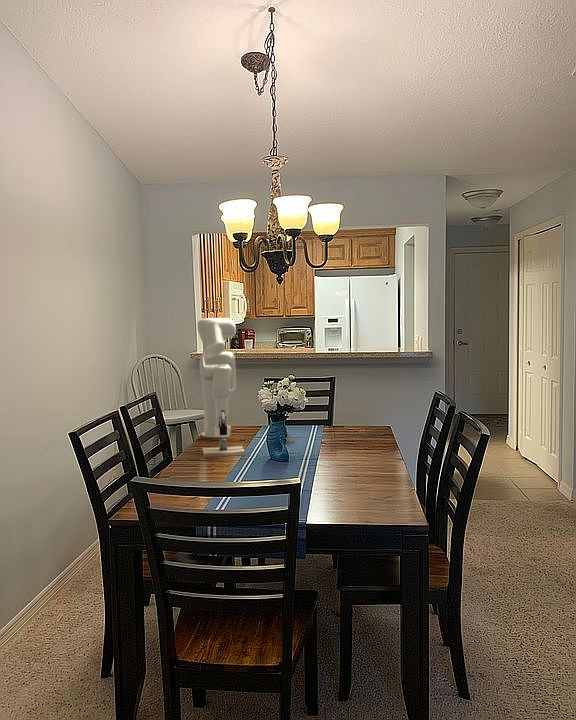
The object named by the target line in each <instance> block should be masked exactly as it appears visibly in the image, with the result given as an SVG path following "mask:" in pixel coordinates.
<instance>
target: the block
mask: <svg viewBox="0 0 576 720" xmlns="http://www.w3.org/2000/svg"><path fill="white" fill-rule="evenodd" d="M202 454H203V455H202V456H203V458H210V457H211V458H212V457H213V458H215V457H230V456H233V457H234V456H245V454H246V451H245V450H244V447H243V445H233V446H227V450H225V451H221V450H220V447H219V446H218V447H217V446H215V447H202Z"/></svg>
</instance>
